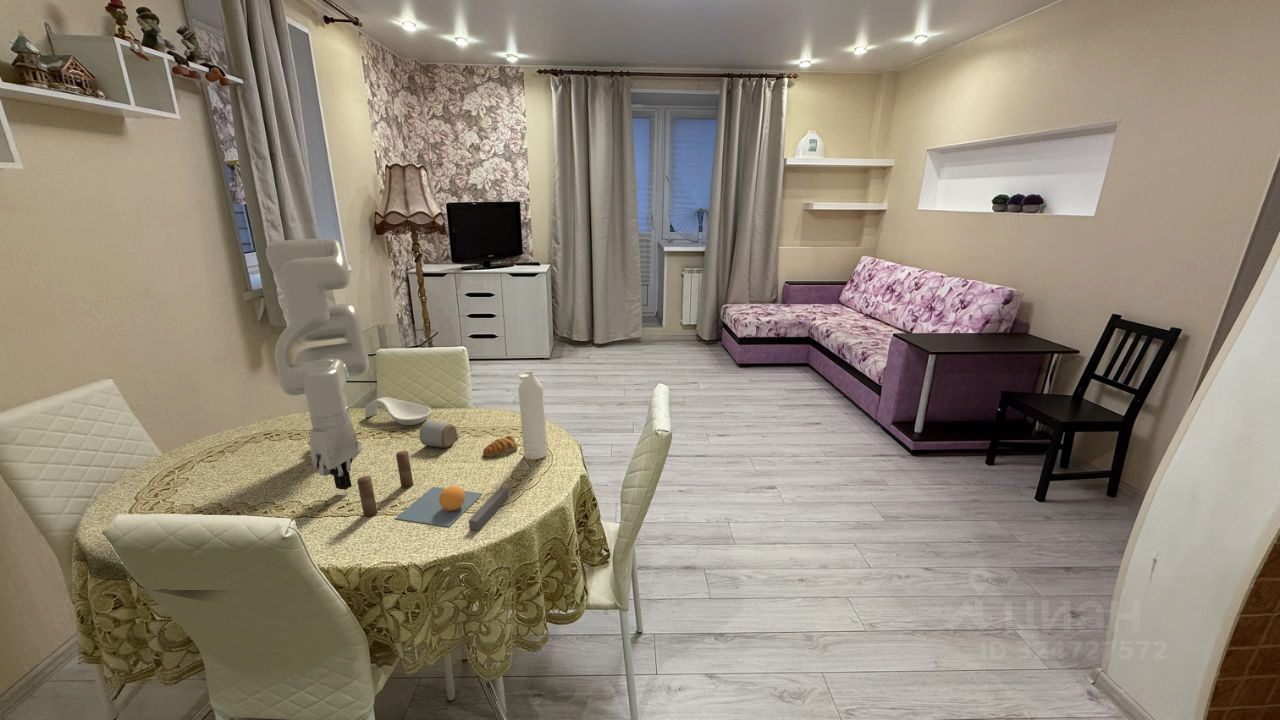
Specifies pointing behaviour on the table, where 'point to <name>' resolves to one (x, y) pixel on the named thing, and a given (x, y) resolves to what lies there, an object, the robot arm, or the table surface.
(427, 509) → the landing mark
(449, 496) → the ball
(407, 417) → the spoon rest
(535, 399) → the water bottle
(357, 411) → the table surface
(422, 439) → the ceramic mug
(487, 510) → the wall
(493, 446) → the pastry
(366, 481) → the post
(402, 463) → the post
